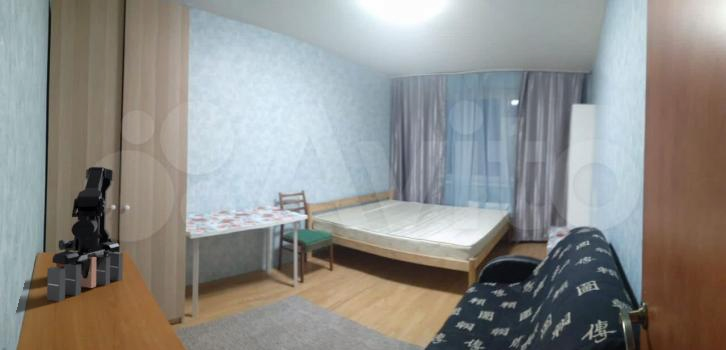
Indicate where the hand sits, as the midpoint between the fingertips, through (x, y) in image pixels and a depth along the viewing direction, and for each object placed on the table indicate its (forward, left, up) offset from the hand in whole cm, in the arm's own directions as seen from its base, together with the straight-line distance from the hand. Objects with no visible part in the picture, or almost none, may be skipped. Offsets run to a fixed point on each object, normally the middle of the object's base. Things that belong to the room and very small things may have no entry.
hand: (88, 277), depth 120 cm
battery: (-12, -10, -4) cm, 16 cm away
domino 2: (+4, -3, -4) cm, 6 cm away
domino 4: (-4, +3, -4) cm, 6 cm away
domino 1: (+8, -6, -4) cm, 11 cm away
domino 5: (-8, +6, -4) cm, 11 cm away
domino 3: (0, 0, -3) cm, 3 cm away
